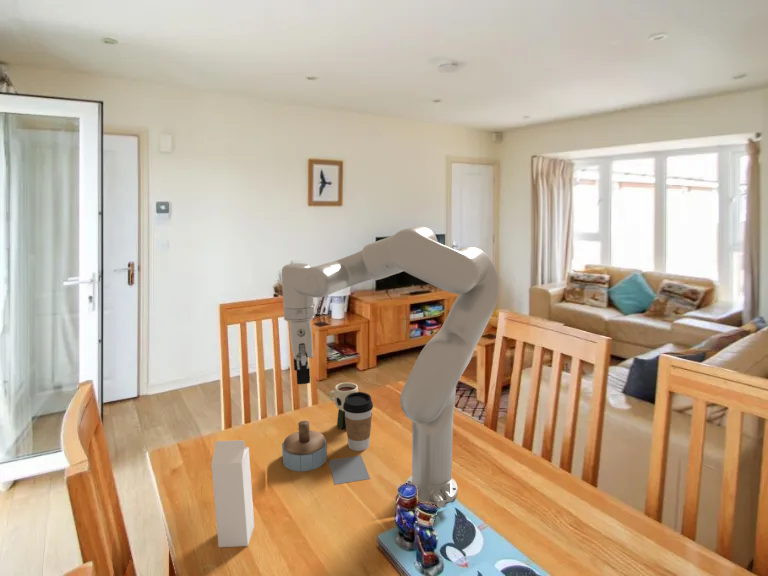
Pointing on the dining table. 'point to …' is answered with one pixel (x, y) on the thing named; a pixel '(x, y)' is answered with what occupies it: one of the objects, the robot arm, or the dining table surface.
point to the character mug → (342, 399)
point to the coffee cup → (358, 420)
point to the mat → (348, 470)
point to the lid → (304, 440)
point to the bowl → (304, 459)
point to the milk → (232, 493)
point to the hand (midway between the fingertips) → (301, 376)
